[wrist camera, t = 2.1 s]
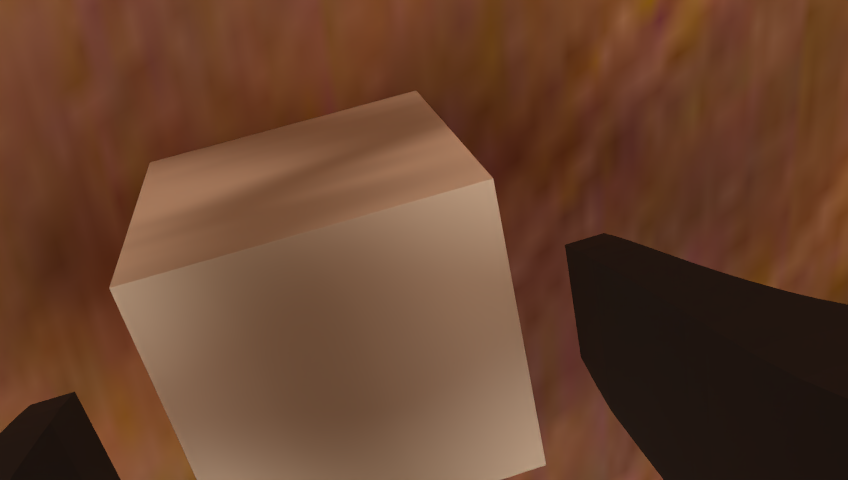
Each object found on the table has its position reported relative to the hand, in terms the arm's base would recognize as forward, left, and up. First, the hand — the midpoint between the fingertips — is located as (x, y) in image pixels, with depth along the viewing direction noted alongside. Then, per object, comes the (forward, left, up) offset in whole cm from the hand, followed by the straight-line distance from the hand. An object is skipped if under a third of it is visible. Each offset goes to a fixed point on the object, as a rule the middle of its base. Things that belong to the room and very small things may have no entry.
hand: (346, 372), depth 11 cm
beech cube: (0, 0, -5) cm, 5 cm away
